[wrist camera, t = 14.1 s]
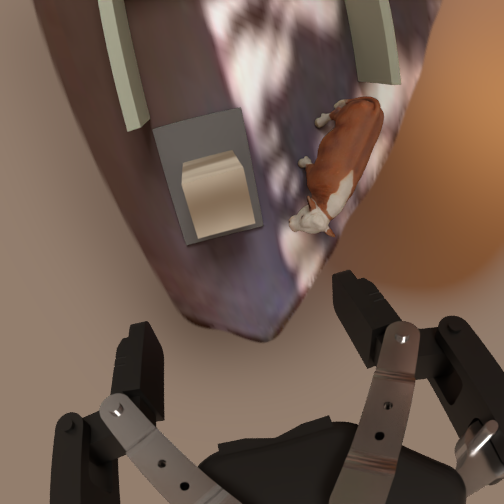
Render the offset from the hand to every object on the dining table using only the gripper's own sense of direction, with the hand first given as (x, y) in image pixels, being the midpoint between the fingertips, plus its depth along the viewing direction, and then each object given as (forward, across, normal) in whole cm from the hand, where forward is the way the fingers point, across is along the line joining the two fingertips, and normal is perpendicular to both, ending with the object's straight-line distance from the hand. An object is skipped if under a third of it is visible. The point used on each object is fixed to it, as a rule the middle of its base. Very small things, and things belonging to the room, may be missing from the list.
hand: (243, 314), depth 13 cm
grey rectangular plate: (+19, 0, 0) cm, 19 cm away
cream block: (+19, 0, 0) cm, 19 cm away
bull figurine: (+20, -11, 0) cm, 22 cm away
